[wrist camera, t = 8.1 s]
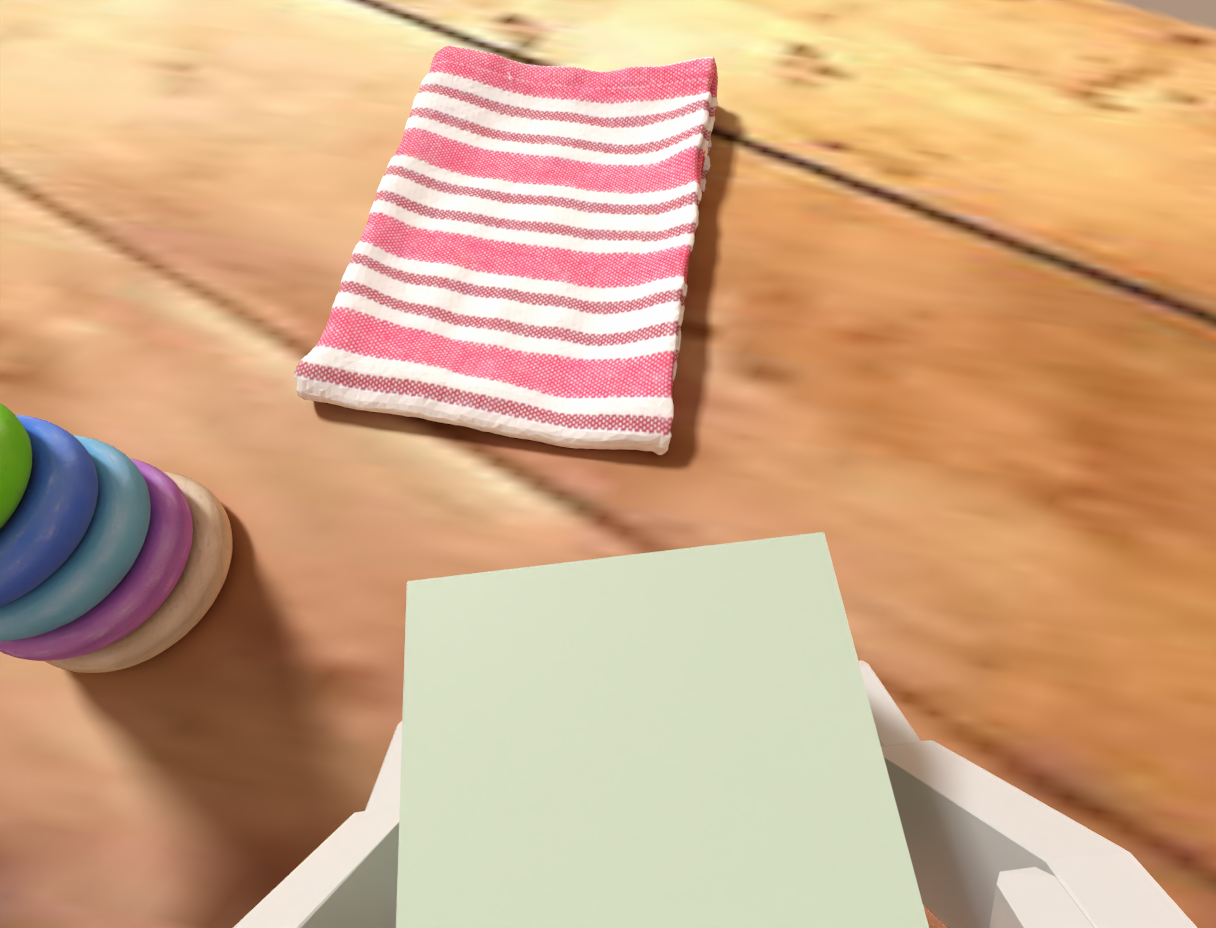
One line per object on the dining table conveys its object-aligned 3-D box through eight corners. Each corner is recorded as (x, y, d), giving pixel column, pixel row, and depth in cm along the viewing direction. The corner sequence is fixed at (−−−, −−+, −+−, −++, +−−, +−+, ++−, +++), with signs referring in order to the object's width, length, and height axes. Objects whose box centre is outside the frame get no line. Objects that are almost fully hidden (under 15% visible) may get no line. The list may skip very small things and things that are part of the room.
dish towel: (720, 106, 35) (728, 43, 32) (670, 469, 26) (675, 431, 23) (441, 88, 37) (422, 27, 34) (302, 420, 28) (259, 379, 25)
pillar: (564, 867, 13) (387, 1159, 4) (552, 675, 15) (406, 581, 6) (745, 846, 13) (972, 1094, 4) (713, 656, 15) (823, 532, 6)
